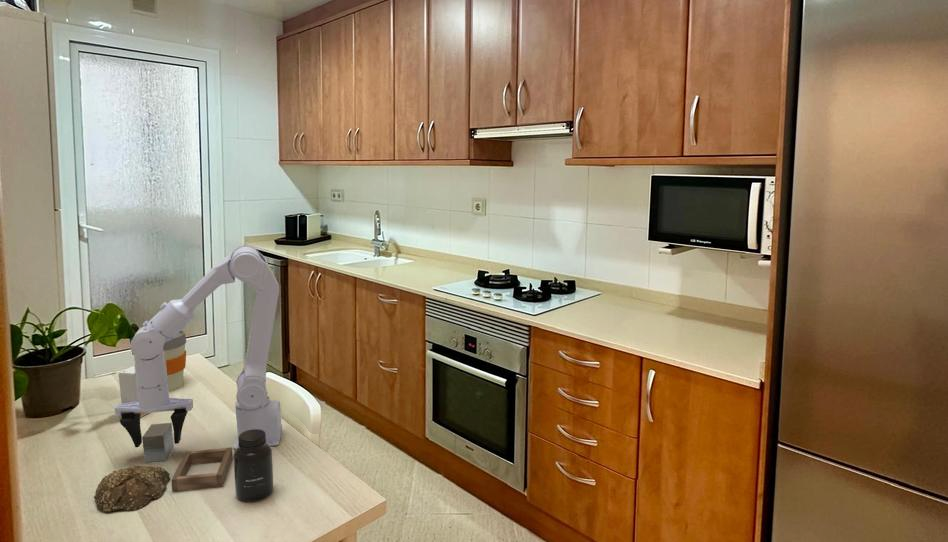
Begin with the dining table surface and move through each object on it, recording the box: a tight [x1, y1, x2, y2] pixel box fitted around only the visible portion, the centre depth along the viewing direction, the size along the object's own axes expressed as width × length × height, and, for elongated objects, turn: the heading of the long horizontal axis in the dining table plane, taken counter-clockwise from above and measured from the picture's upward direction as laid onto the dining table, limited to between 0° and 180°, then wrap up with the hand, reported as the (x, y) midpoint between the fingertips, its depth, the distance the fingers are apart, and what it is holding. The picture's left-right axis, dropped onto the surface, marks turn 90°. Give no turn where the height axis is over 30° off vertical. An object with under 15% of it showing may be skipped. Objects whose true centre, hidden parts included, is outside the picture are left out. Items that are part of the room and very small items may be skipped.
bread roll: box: [93, 465, 172, 513], centre depth 108 cm, size 13×12×5 cm
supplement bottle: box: [233, 429, 274, 503], centre depth 108 cm, size 7×7×12 cm
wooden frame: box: [170, 447, 234, 493], centre depth 115 cm, size 9×11×2 cm
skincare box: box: [118, 365, 149, 419], centre depth 141 cm, size 6×4×12 cm
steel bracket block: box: [142, 422, 175, 464], centre depth 122 cm, size 6×4×6 cm, turn 13°
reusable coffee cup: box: [163, 329, 187, 392], centre depth 158 cm, size 12×13×15 cm
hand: (158, 443), depth 122 cm, fingers open, 7 cm apart
